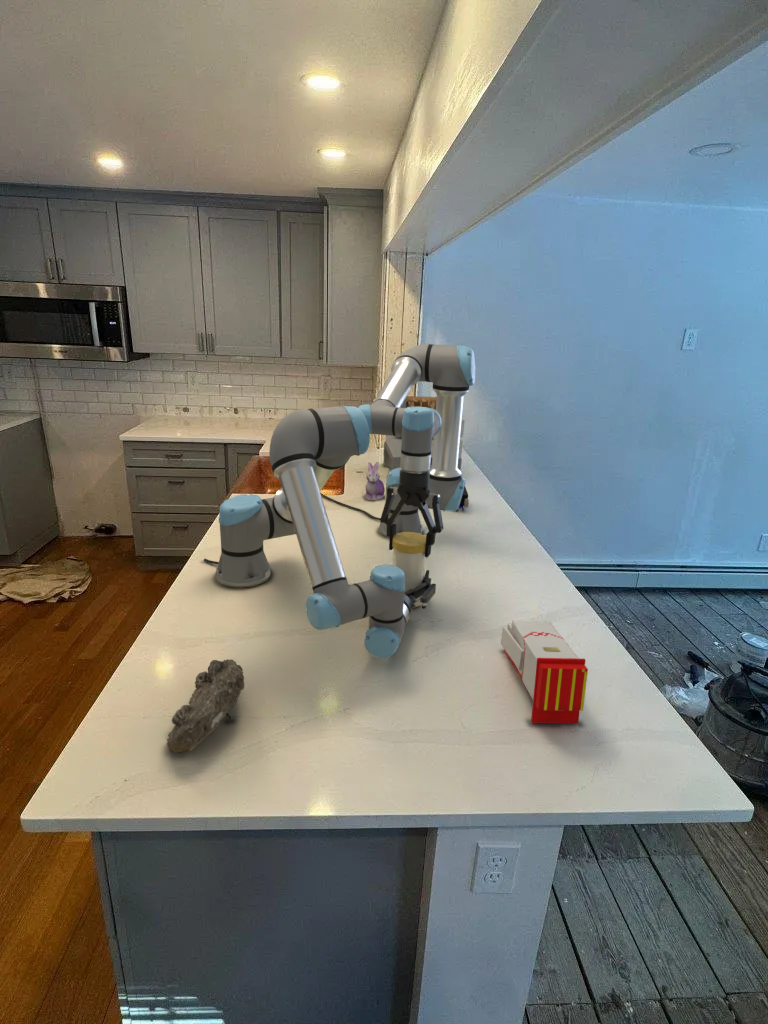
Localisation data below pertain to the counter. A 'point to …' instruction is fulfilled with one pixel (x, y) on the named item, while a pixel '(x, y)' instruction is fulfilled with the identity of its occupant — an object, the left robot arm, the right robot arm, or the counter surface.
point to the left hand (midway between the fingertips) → (410, 572)
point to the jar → (410, 568)
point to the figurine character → (464, 500)
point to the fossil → (206, 705)
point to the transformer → (394, 442)
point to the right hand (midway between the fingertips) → (409, 551)
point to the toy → (547, 670)
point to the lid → (409, 542)
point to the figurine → (374, 483)
